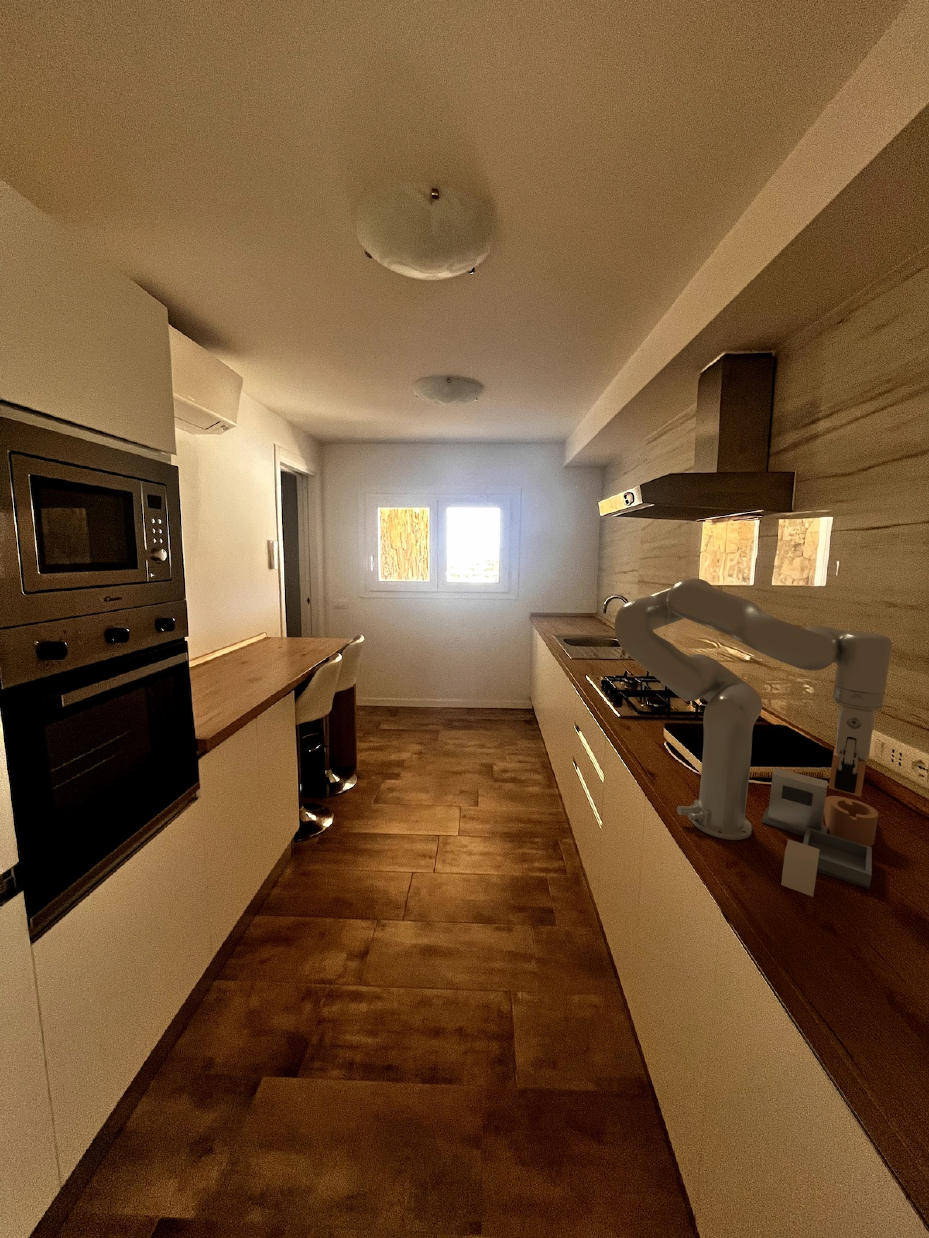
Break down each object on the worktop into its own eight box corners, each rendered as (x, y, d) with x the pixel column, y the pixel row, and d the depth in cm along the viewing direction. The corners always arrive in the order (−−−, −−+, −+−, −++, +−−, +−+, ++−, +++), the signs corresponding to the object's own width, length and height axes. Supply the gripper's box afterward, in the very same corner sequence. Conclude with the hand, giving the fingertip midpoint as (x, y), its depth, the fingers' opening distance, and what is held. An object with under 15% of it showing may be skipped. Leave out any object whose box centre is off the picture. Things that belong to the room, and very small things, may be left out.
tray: (799, 865, 99) (800, 851, 99) (805, 839, 107) (806, 827, 107) (869, 889, 92) (871, 875, 92) (869, 860, 101) (871, 847, 100)
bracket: (876, 852, 104) (881, 822, 102) (828, 839, 108) (832, 810, 107) (864, 812, 119) (868, 786, 118) (821, 802, 123) (825, 777, 122)
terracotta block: (828, 788, 97) (833, 754, 96) (830, 778, 100) (834, 746, 99) (860, 796, 94) (866, 762, 92) (861, 786, 97) (866, 753, 96)
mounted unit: (761, 822, 114) (766, 774, 112) (765, 811, 118) (771, 765, 117) (825, 842, 106) (832, 791, 104) (827, 830, 111) (833, 780, 109)
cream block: (781, 884, 93) (785, 851, 92) (784, 871, 97) (788, 839, 96) (813, 896, 90) (817, 862, 89) (815, 882, 94) (819, 849, 93)
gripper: (883, 713, 85) (868, 809, 88) (883, 690, 98) (870, 775, 101) (830, 703, 90) (817, 795, 93) (836, 683, 103) (825, 764, 106)
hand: (845, 783), depth 97 cm, fingers closed on terracotta block, 5 cm apart
